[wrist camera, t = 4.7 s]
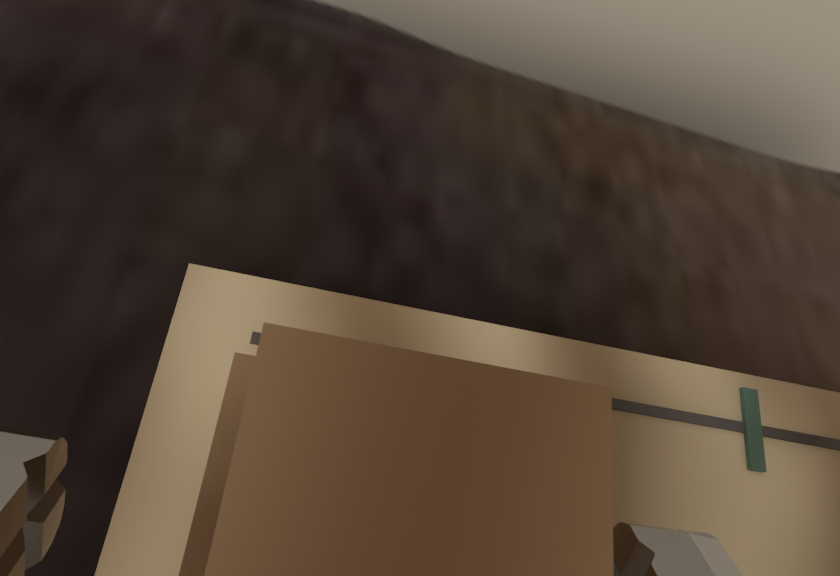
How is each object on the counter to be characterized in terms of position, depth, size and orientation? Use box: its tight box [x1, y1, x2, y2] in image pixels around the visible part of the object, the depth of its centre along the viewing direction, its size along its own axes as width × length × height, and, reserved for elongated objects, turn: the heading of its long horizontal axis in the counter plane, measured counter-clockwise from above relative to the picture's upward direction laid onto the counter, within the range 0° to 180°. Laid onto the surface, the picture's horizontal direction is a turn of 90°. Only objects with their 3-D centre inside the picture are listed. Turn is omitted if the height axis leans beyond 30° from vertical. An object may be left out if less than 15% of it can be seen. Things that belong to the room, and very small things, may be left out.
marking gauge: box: [179, 322, 614, 576], centre depth 10 cm, size 5×8×11 cm, turn 173°
